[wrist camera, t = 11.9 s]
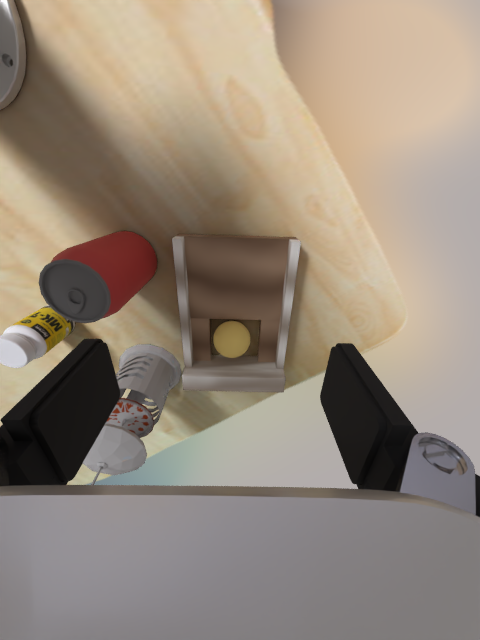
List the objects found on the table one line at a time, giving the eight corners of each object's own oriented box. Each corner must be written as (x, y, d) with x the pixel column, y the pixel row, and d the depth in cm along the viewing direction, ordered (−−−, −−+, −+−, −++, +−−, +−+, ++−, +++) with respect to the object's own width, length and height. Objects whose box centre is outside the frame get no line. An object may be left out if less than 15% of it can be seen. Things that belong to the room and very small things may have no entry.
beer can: (103, 274, 31) (33, 316, 21) (107, 222, 29) (28, 240, 18) (154, 289, 32) (112, 337, 22) (163, 240, 30) (119, 268, 19)
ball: (210, 326, 30) (210, 363, 32) (250, 328, 30) (249, 365, 31) (216, 315, 35) (216, 348, 36) (251, 317, 35) (250, 349, 36)
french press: (194, 375, 39) (134, 612, 17) (143, 405, 43) (37, 638, 20) (149, 332, 36) (1, 565, 14) (97, 369, 39) (-92, 606, 17)
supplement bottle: (80, 315, 34) (36, 350, 27) (70, 339, 36) (26, 377, 29) (45, 297, 33) (-12, 328, 26) (36, 322, 35) (-19, 358, 27)
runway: (178, 234, 29) (167, 241, 25) (295, 237, 29) (305, 245, 25) (189, 367, 38) (183, 390, 34) (278, 369, 39) (283, 392, 34)
